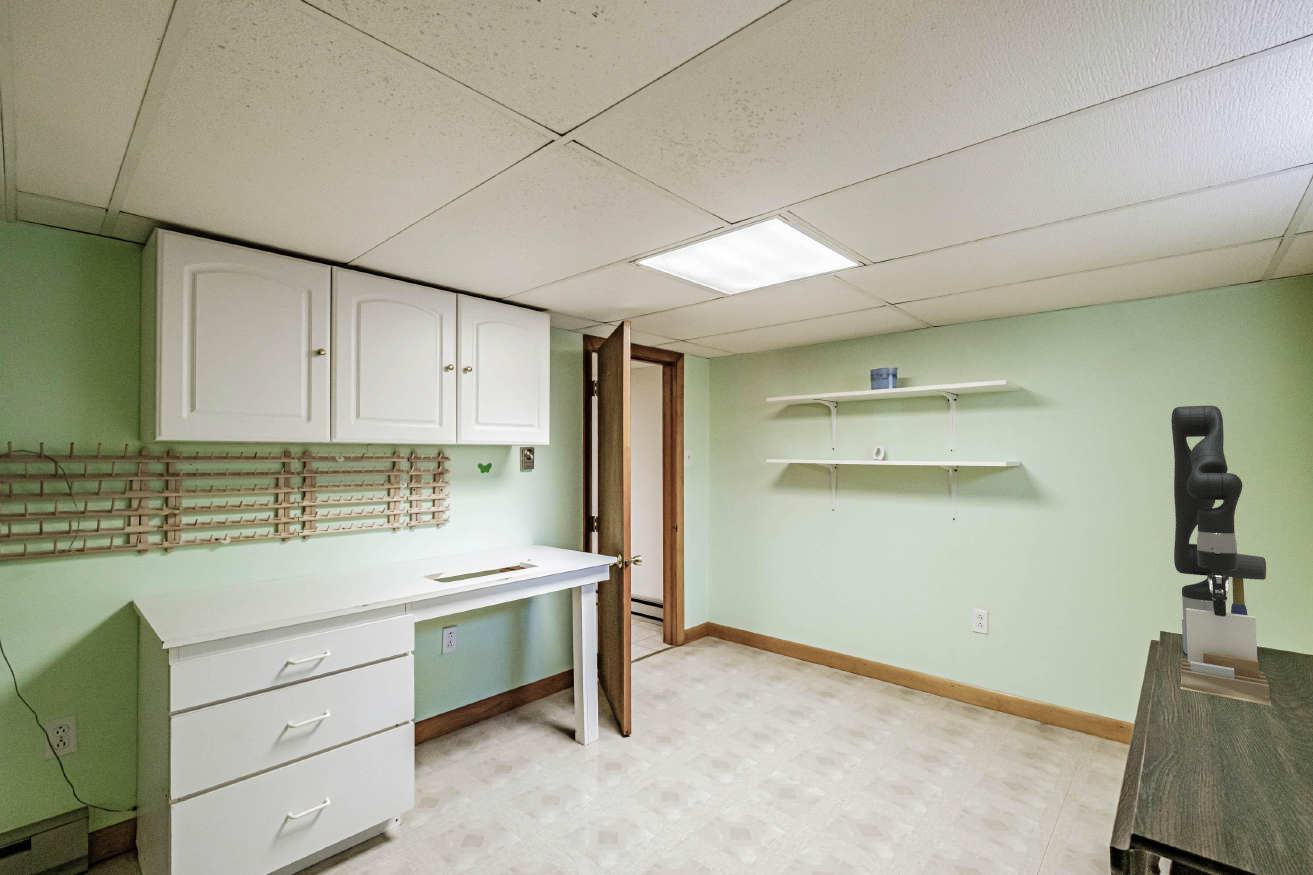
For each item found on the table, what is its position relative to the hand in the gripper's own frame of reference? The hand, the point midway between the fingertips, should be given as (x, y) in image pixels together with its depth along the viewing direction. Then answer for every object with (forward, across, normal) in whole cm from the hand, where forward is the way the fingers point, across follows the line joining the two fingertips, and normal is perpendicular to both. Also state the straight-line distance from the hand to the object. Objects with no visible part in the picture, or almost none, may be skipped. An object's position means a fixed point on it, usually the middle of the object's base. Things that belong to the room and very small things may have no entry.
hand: (1219, 612), depth 153 cm
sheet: (+18, 0, 0) cm, 18 cm away
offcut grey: (+18, +7, -2) cm, 20 cm away
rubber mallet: (+19, -43, +5) cm, 48 cm away
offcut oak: (+18, +4, +2) cm, 19 cm away
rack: (+19, +4, 0) cm, 20 cm away
